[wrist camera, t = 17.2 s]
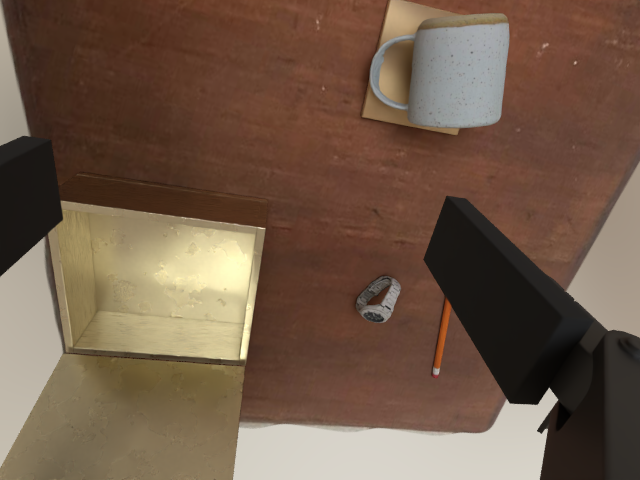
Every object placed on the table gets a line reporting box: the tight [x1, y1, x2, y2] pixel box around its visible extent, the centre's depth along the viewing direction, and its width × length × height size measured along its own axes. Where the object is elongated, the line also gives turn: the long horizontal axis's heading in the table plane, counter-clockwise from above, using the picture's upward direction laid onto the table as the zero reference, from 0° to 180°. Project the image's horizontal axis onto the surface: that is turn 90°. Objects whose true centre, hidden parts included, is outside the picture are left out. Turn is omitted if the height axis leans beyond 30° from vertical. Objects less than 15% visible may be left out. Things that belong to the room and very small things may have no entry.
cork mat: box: [361, 0, 461, 135], centre depth 36 cm, size 10×10×1 cm
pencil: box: [432, 298, 451, 378], centre depth 52 cm, size 1×19×1 cm, turn 2°
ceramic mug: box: [369, 13, 509, 128], centre depth 32 cm, size 11×8×8 cm
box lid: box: [0, 354, 245, 480], centre depth 35 cm, size 19×19×5 cm
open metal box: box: [48, 172, 268, 365], centre depth 40 cm, size 18×19×7 cm
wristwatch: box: [356, 276, 401, 323], centre depth 46 cm, size 4×6×5 cm, turn 139°
